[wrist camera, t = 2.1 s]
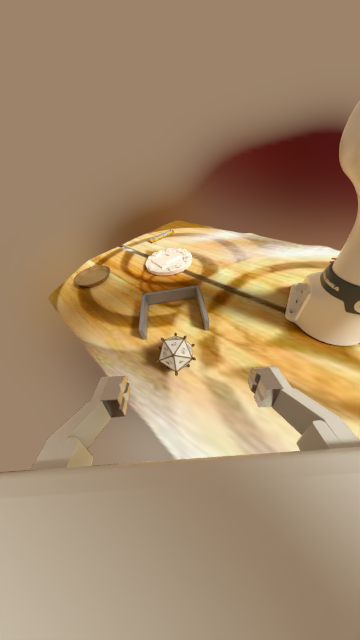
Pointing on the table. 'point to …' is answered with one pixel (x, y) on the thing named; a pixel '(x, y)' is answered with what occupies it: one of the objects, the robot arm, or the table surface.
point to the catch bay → (167, 297)
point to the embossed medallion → (169, 261)
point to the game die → (175, 353)
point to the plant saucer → (92, 276)
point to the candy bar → (161, 236)
